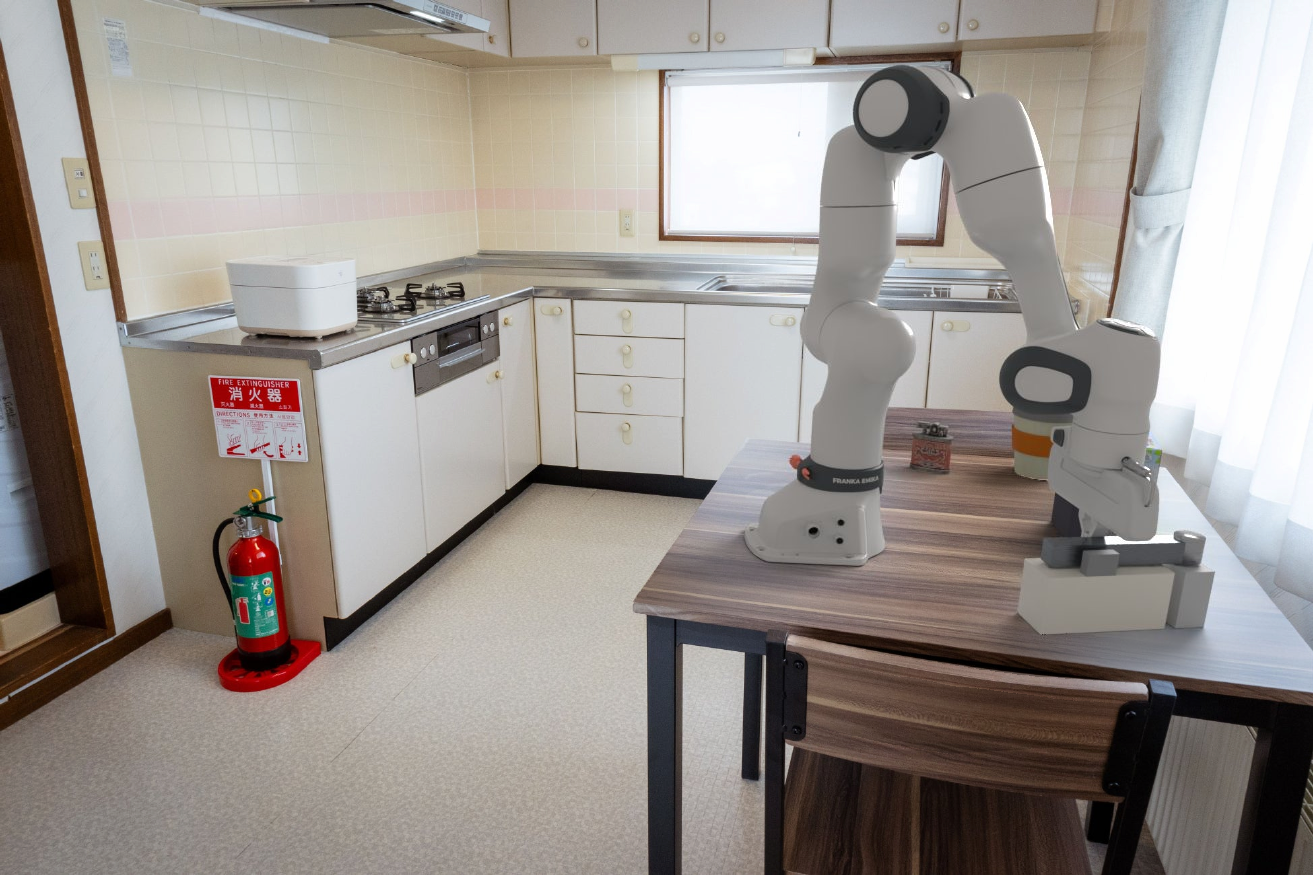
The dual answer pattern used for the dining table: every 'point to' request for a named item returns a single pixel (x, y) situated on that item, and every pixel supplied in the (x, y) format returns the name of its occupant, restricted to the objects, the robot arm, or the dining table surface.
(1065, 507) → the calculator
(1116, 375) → the robot arm
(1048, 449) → the reusable coffee cup
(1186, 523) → the dining table surface
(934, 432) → the lighter
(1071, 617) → the door slab
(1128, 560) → the swing bar
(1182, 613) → the post
